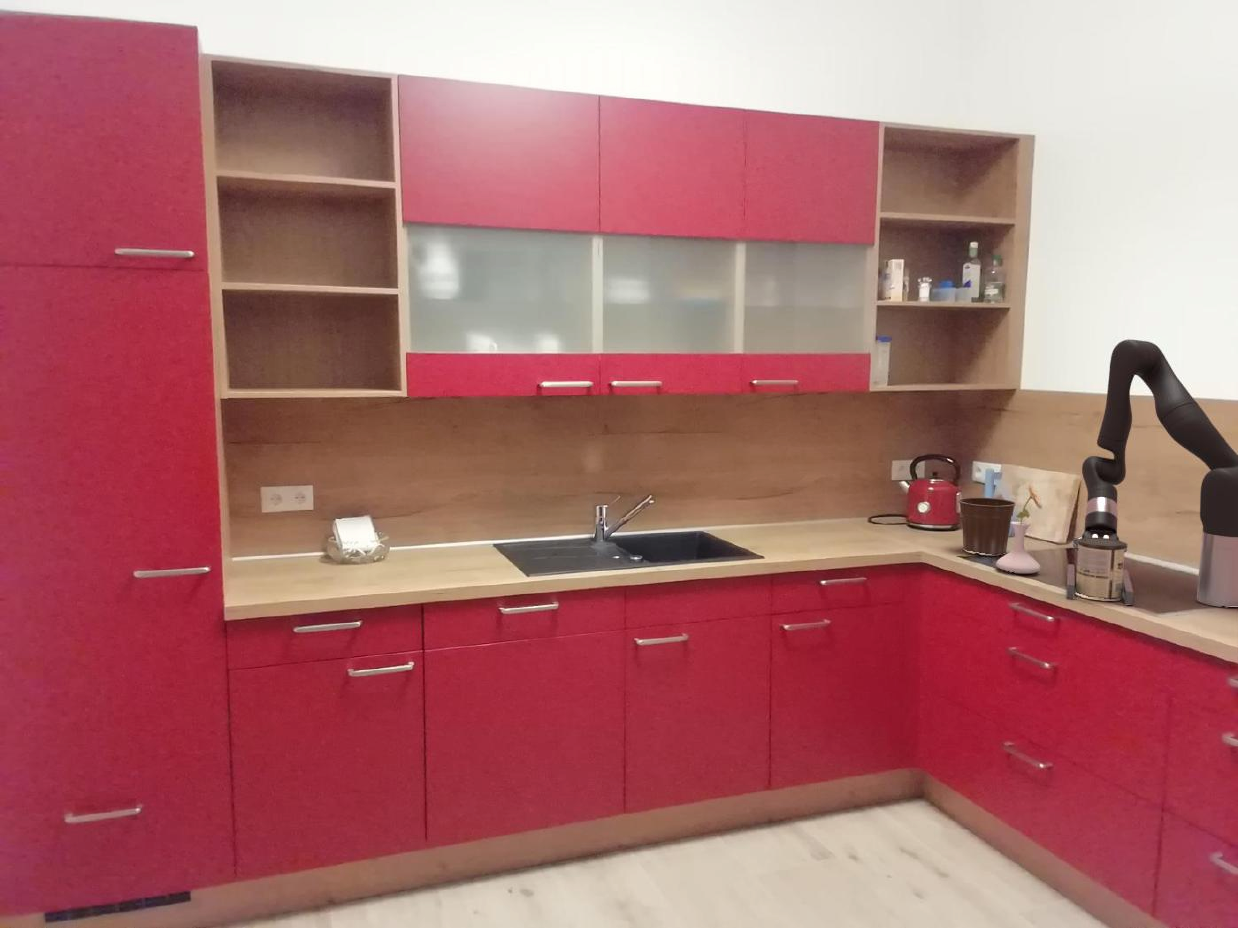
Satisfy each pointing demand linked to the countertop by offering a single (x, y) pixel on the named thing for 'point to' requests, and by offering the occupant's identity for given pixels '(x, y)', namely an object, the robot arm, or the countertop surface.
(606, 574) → the countertop surface
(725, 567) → the countertop surface
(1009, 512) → the plant pot
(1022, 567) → the flower in vase
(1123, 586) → the grey frame
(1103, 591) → the coffee can
